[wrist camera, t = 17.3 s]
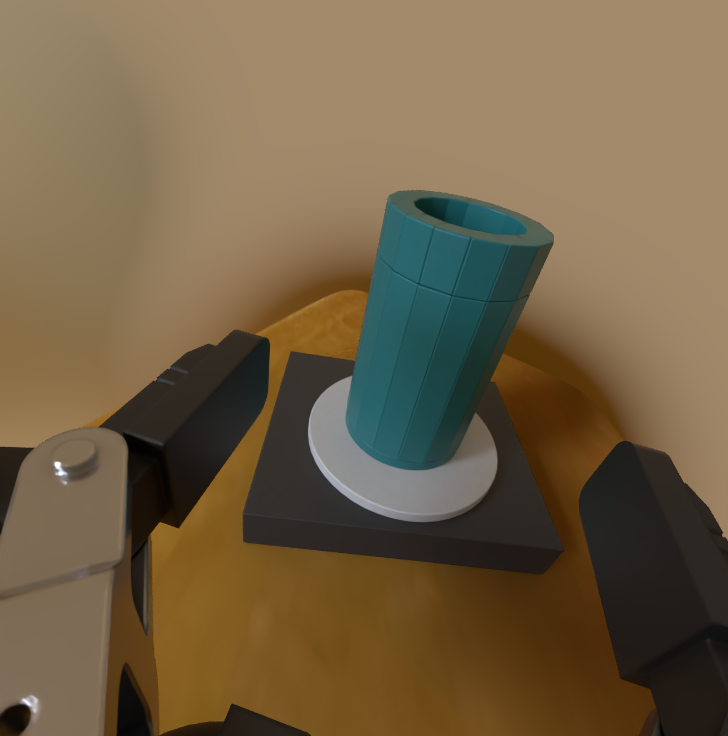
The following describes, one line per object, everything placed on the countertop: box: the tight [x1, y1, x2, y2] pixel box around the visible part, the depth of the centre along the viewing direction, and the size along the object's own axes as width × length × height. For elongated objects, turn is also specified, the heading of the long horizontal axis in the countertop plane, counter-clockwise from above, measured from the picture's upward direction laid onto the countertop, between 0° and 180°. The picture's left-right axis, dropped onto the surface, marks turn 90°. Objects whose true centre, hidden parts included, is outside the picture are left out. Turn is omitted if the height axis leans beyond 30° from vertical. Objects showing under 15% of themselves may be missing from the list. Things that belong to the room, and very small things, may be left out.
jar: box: [345, 190, 554, 471], centre depth 18 cm, size 6×6×11 cm
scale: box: [243, 352, 564, 574], centre depth 22 cm, size 14×12×3 cm
